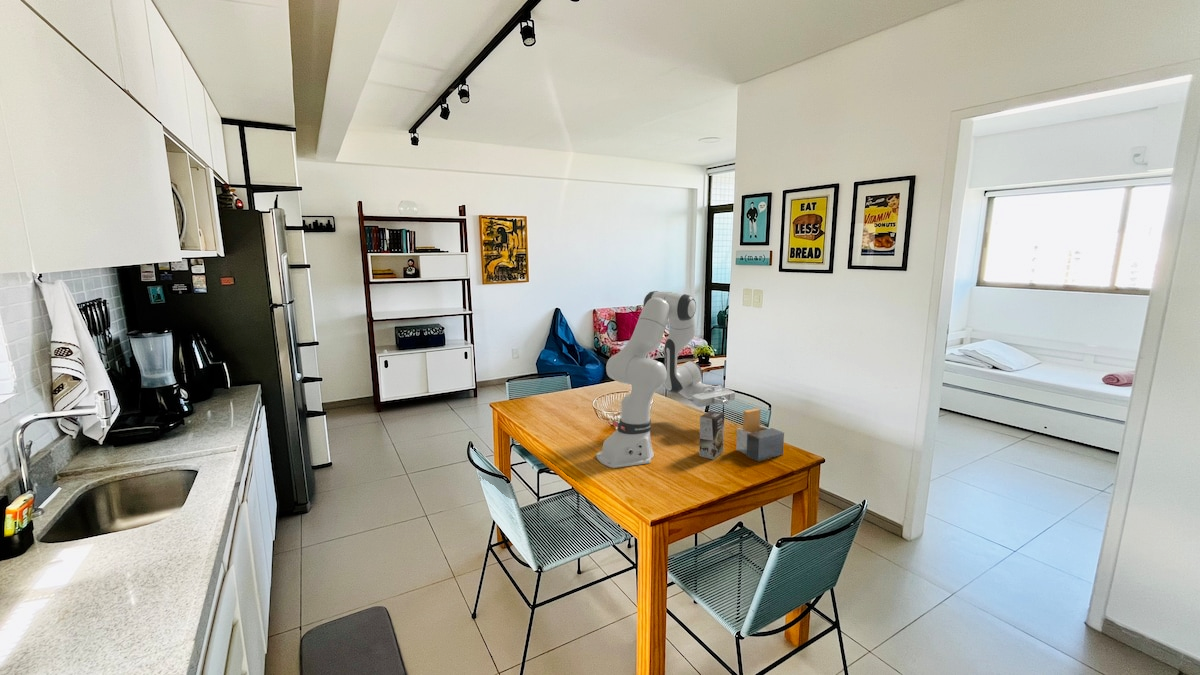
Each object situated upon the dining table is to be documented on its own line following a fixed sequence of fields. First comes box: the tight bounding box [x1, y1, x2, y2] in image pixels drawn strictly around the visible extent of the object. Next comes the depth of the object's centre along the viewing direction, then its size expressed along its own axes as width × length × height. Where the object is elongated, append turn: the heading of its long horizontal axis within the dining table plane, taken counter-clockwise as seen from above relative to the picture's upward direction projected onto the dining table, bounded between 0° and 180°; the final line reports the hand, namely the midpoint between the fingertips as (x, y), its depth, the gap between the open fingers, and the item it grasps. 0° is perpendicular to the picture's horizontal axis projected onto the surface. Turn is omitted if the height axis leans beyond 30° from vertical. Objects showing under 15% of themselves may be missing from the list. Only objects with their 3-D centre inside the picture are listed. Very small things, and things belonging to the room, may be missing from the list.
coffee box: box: [698, 410, 725, 460], centre depth 189 cm, size 9×6×16 cm
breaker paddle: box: [742, 407, 761, 433], centre depth 193 cm, size 7×2×10 cm, turn 118°
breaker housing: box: [735, 424, 785, 463], centre depth 191 cm, size 13×12×9 cm
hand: (725, 402), depth 206 cm, fingers closed
